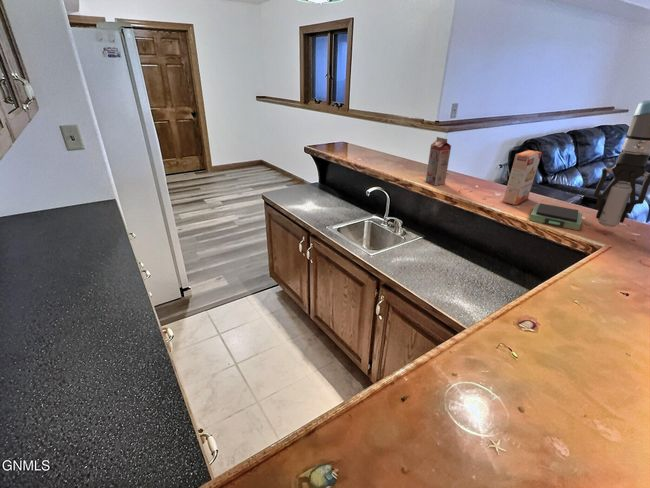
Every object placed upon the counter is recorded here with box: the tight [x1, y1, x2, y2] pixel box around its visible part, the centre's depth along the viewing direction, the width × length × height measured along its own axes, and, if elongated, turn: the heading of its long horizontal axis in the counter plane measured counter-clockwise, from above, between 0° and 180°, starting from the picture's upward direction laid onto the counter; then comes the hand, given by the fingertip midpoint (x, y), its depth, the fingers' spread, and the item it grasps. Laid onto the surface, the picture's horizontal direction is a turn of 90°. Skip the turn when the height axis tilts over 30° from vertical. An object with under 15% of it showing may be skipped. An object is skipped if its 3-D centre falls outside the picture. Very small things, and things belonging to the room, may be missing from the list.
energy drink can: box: [597, 181, 632, 228], centre depth 120 cm, size 6×6×15 cm
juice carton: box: [425, 136, 452, 186], centre depth 171 cm, size 7×7×22 cm
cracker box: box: [502, 149, 543, 206], centre depth 149 cm, size 14×6×21 cm, turn 132°
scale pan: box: [536, 202, 579, 222], centre depth 133 cm, size 13×12×1 cm
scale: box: [529, 204, 583, 231], centre depth 133 cm, size 16×15×2 cm
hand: (609, 219), depth 122 cm, fingers closed on energy drink can, 6 cm apart
